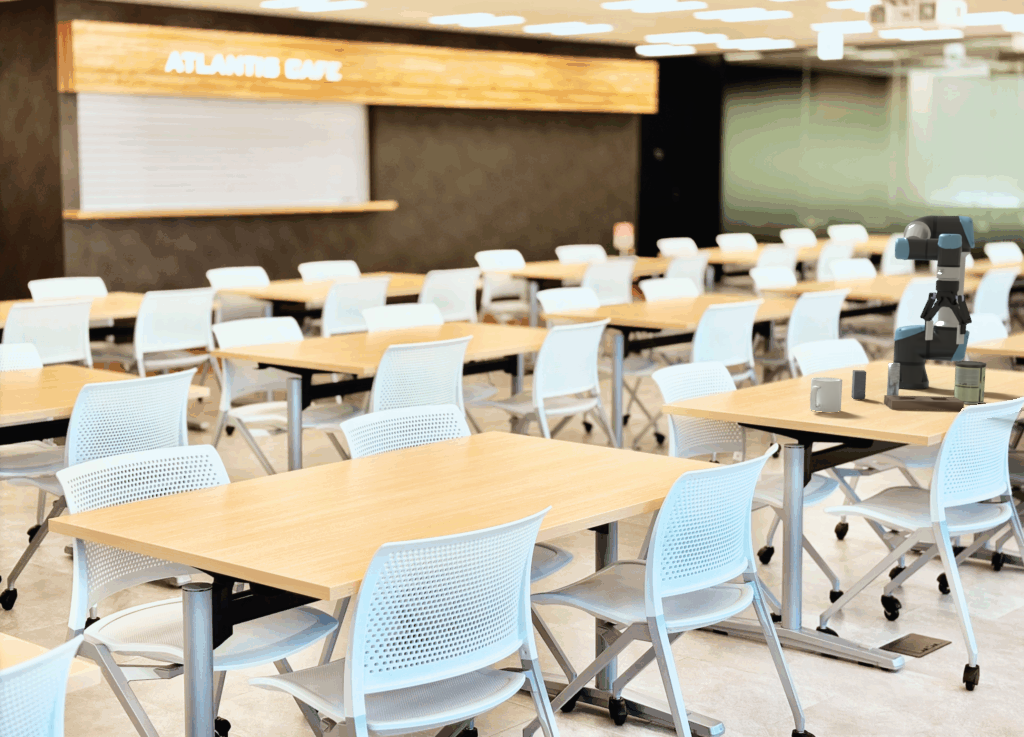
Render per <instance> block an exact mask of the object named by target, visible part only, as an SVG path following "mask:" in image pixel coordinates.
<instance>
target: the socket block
mask: <svg viewBox="0 0 1024 737" xmlns="http://www.w3.org/2000/svg"><path fill="white" fill-rule="evenodd" d="M883 396H884V397H883V404H884V405H885V406H886V407H888V408H889V409H890V410H905V411H906V410H908V411H946V412H947V411H948V412H949V411H950V412H951V411H952V412H961V411H960V410H961V409H962V408H964V407H965V404H964V402H963V401H961V400H959V399H958V398H956V397H954V396H934V395H931V396H930V395H927V396H926V395H887V394H884V395H883Z"/></svg>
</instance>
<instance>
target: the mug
mask: <svg viewBox="0 0 1024 737" xmlns="http://www.w3.org/2000/svg"><path fill="white" fill-rule="evenodd" d="M810 380H811V382H810V393H809V394H810V395H809V410H810V409H811V410H815V411H822V412H838V411H842V397H843V396H842V392H843V391H842V389H843V379H841V378H837V377H825V376H824V377H822V376H821V377H817V376H816V377H812V378H811V379H810Z"/></svg>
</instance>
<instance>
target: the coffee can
mask: <svg viewBox="0 0 1024 737" xmlns="http://www.w3.org/2000/svg"><path fill="white" fill-rule="evenodd" d="M954 362H955V371H954V386H953V387H954V390H953V391H954V392H953V397H956V398H958V399H959V400H961V401H963V402H964V405H979V404H978V403H983V404H984V403H985V402H984V401H985V389H986V388H985V386H986V371H987V370H986V368H987V363H986V362H982V361H976V360H970V361H969V360H962V361H954Z"/></svg>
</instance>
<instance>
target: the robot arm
mask: <svg viewBox="0 0 1024 737" xmlns="http://www.w3.org/2000/svg"><path fill="white" fill-rule="evenodd" d="M974 229H975V228H974V222H973V218H972V217H971V216H966V215H925V216H924V215H923V216H921V217H917V218H916V219H914V220H912V221H910V222H909V223H907V225H906V226H905V228H904V230H903V237H898V238H896V239H895V241H894V242H895V244H894V258H895V259H897V260H903V261H906V260H909V261H913V260H914V261H934V262H935V261H937V264H936V279H937V280H936V281H935V291H936V292H929V293H928V298H927V300H926V303H925V304H924V305H925V306H924V308H923V309H922V311H921V313H920V316H919V317H920V319H922V320H924V324H913V325H904V326H899V327H897V328H896V329H895V332H894V338H893V341H894V344H893V346H894V347H893V360H892V361H893V362H892V363H900V376H899V389H908V390H909V389H910V390H921V389H928V388H929V386H930V380H929V376H928V373H927V368H926V360H927V361H943V362H951V363H952V362H958V361H964V359H965V358H966V352H967V346H968V343H969V337H970V331H969V330H967V325H968V324H972V322H973V320H972V317H971V314H970V311H969V308H968V306H967V302H966V301H967V300H966V295H965V294H964V293H965V276H966V275H965V274H966V261H967V260H966V258H967V256H969V255H971V250H972V249H974V248H975V247H976V244H975V231H974ZM936 315H937V320H936V322H935V323H934V320H933V319H934V317H935V316H936Z"/></svg>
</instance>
